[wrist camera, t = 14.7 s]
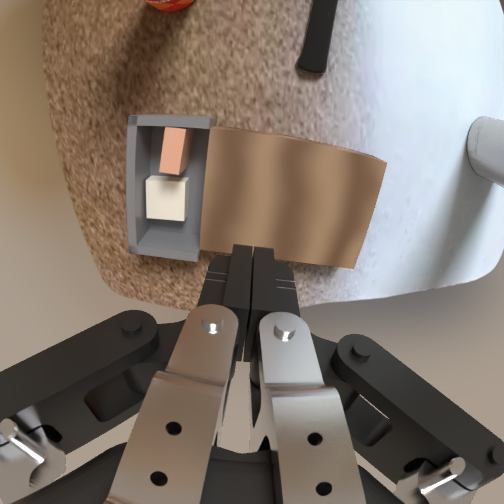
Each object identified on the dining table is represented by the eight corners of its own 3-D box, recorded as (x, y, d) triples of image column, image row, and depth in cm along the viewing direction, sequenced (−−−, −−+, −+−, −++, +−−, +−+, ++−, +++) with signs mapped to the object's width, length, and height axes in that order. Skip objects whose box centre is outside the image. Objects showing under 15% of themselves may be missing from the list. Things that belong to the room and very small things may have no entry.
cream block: (145, 179, 27) (151, 175, 29) (146, 217, 30) (152, 211, 31) (185, 182, 28) (189, 177, 30) (184, 221, 30) (187, 214, 32)
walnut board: (372, 155, 28) (387, 162, 25) (344, 252, 35) (353, 268, 31) (215, 125, 27) (210, 128, 24) (204, 233, 33) (199, 249, 30)
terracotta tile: (185, 129, 23) (165, 126, 22) (178, 174, 25) (159, 171, 25) (195, 126, 27) (177, 123, 26) (188, 165, 29) (171, 162, 29)
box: (216, 117, 27) (210, 118, 22) (204, 240, 34) (197, 262, 30) (146, 113, 26) (128, 115, 22) (143, 233, 33) (129, 252, 29)
